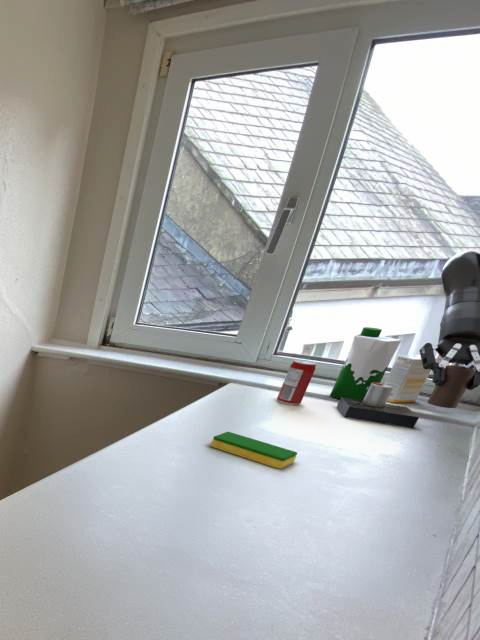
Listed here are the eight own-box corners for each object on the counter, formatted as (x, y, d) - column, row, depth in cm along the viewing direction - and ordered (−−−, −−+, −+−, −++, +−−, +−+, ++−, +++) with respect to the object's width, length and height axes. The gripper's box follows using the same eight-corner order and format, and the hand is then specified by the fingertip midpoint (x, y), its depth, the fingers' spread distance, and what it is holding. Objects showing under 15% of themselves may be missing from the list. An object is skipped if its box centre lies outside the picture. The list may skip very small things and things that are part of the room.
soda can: (301, 402, 156) (319, 361, 151) (298, 406, 153) (316, 364, 147) (277, 398, 160) (294, 357, 154) (274, 401, 156) (291, 360, 151)
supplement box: (398, 397, 165) (420, 354, 159) (415, 402, 161) (439, 358, 155) (375, 397, 164) (397, 354, 158) (392, 403, 160) (415, 358, 154)
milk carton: (340, 392, 168) (371, 326, 159) (376, 401, 160) (410, 332, 151) (324, 395, 164) (354, 327, 155) (359, 404, 157) (393, 334, 148)
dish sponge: (279, 469, 113) (284, 458, 112) (209, 446, 123) (213, 436, 122) (293, 462, 116) (298, 452, 115) (224, 440, 127) (228, 431, 126)
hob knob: (381, 404, 147) (391, 383, 145) (385, 408, 144) (396, 387, 141) (360, 401, 149) (370, 380, 147) (364, 405, 146) (374, 384, 143)
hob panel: (401, 417, 148) (407, 406, 146) (413, 428, 140) (419, 416, 138) (336, 407, 154) (341, 396, 152) (344, 417, 146) (349, 406, 144)
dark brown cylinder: (451, 404, 132) (471, 367, 128) (459, 409, 128) (480, 371, 124) (424, 400, 134) (443, 364, 130) (431, 405, 130) (450, 368, 126)
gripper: (432, 312, 131) (424, 372, 127) (516, 319, 125) (510, 382, 121) (414, 331, 138) (406, 389, 134) (493, 339, 132) (487, 399, 128)
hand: (455, 385), depth 128 cm, fingers closed on dark brown cylinder, 5 cm apart
